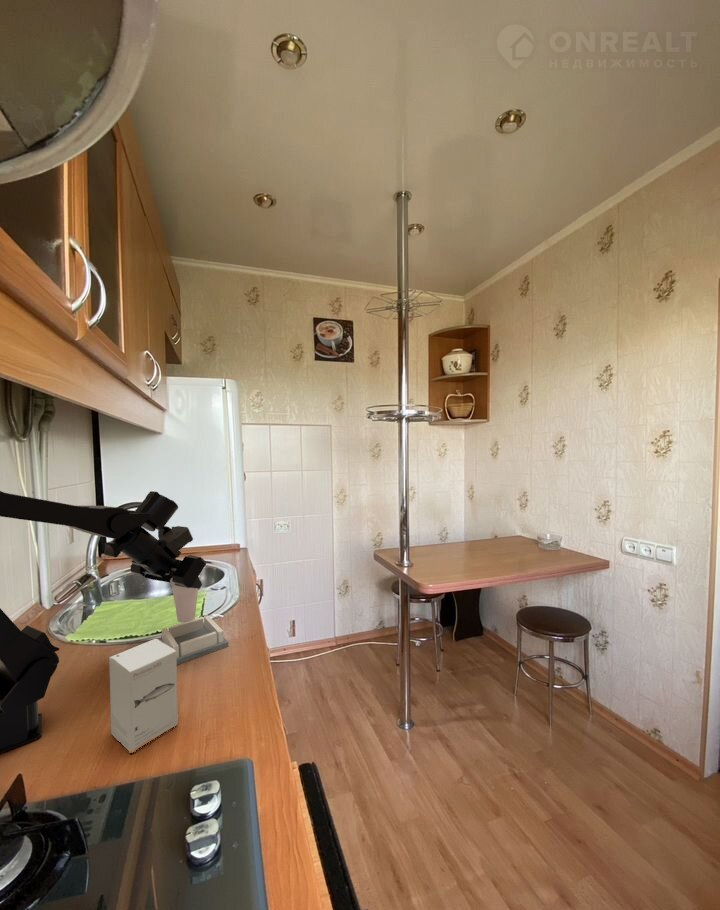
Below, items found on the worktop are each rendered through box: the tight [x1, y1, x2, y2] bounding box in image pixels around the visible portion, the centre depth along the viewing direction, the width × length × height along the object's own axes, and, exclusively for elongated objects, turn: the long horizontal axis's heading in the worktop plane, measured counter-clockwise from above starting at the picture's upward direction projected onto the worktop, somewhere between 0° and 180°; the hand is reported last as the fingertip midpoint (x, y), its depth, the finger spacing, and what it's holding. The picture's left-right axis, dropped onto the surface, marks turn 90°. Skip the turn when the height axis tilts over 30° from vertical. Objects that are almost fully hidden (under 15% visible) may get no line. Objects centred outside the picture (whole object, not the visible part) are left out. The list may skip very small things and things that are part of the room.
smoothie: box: [169, 575, 201, 623], centre depth 86 cm, size 6×6×14 cm
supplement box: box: [108, 638, 179, 752], centre depth 60 cm, size 7×7×13 cm
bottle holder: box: [157, 614, 229, 666], centre depth 86 cm, size 12×12×4 cm
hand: (190, 584), depth 88 cm, fingers closed on smoothie, 6 cm apart
